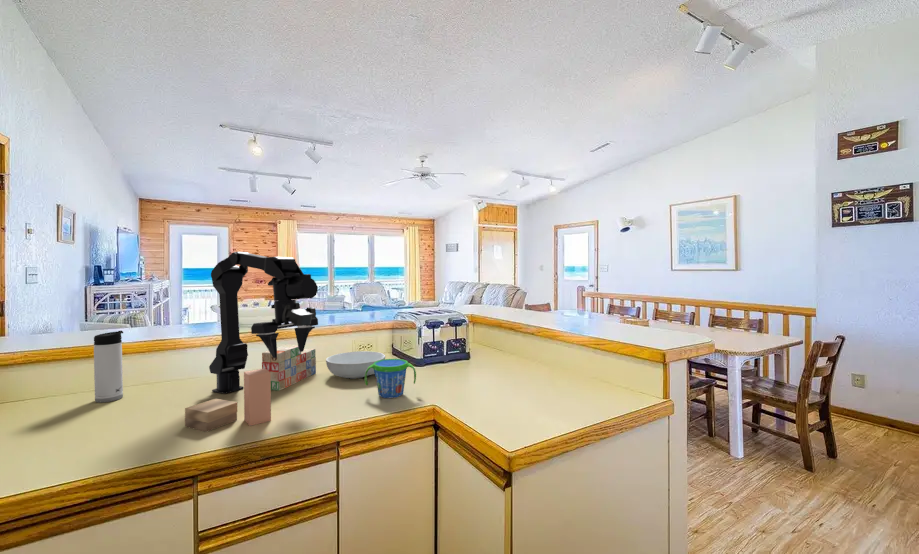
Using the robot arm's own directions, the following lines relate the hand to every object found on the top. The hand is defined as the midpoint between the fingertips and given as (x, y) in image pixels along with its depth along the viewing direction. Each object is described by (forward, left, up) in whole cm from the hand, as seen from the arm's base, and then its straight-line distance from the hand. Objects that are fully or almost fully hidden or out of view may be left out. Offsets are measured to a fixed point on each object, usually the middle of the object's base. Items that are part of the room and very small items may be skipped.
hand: (288, 354), depth 115 cm
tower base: (-7, -18, -15) cm, 24 cm away
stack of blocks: (-18, +18, -15) cm, 29 cm away
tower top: (-6, -18, -12) cm, 23 cm away
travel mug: (-52, -18, -14) cm, 57 cm away
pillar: (+2, -12, -14) cm, 19 cm away
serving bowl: (-2, +33, -15) cm, 36 cm away
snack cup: (+22, +19, -15) cm, 32 cm away
